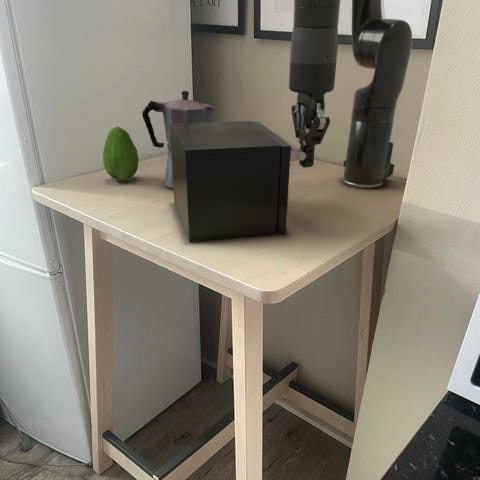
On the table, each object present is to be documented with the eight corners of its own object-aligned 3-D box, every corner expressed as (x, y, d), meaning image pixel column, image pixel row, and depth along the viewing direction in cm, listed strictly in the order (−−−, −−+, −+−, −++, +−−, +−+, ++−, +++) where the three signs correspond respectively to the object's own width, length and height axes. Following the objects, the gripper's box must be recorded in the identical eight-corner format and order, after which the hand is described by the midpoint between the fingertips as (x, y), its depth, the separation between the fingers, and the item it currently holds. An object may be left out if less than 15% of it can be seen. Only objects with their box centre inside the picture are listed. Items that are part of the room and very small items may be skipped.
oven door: (273, 196, 108) (276, 120, 99) (305, 232, 92) (312, 144, 83) (249, 198, 107) (250, 121, 98) (277, 234, 91) (281, 146, 82)
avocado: (123, 187, 112) (117, 132, 105) (99, 181, 116) (91, 127, 109) (147, 179, 118) (143, 125, 111) (123, 173, 121) (117, 121, 115)
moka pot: (220, 189, 112) (219, 93, 101) (152, 195, 108) (143, 95, 97) (210, 177, 119) (209, 86, 108) (146, 182, 116) (137, 88, 105)
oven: (248, 199, 107) (250, 120, 98) (276, 235, 91) (281, 145, 82) (174, 204, 104) (169, 123, 95) (189, 243, 87) (185, 150, 79)
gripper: (351, 62, 76) (340, 175, 86) (319, 54, 87) (312, 154, 96) (305, 64, 74) (298, 178, 84) (278, 55, 85) (275, 157, 95)
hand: (306, 165), depth 90 cm, fingers closed
